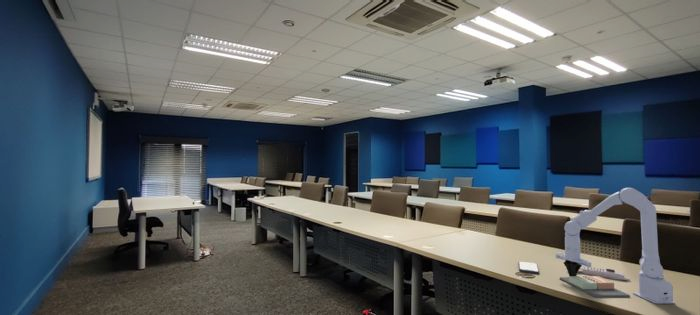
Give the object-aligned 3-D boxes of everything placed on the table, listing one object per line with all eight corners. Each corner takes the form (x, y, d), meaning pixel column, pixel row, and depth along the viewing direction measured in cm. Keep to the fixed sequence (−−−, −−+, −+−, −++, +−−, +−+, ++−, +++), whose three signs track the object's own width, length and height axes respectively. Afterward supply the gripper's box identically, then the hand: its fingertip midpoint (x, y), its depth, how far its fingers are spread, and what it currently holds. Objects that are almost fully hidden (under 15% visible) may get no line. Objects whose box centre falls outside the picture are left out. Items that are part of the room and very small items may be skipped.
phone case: (518, 264, 170) (518, 272, 155) (518, 261, 170) (518, 269, 155) (537, 266, 166) (539, 275, 151) (537, 263, 166) (539, 272, 151)
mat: (629, 297, 126) (629, 295, 126) (594, 297, 126) (594, 295, 126) (589, 278, 146) (589, 277, 146) (559, 279, 146) (559, 277, 146)
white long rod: (564, 256, 163) (629, 266, 147) (564, 267, 163) (629, 278, 147) (563, 259, 158) (630, 269, 142) (563, 270, 158) (630, 282, 142)
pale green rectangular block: (597, 289, 132) (597, 282, 132) (583, 289, 132) (583, 282, 132) (582, 281, 140) (582, 275, 140) (569, 281, 140) (569, 276, 140)
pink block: (614, 288, 132) (614, 282, 132) (598, 289, 132) (598, 282, 132) (598, 281, 140) (598, 275, 140) (583, 281, 140) (583, 275, 140)
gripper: (595, 251, 136) (596, 282, 136) (562, 243, 150) (562, 272, 150) (585, 253, 134) (585, 285, 134) (552, 244, 147) (552, 273, 147)
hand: (572, 278), depth 141 cm, fingers closed
